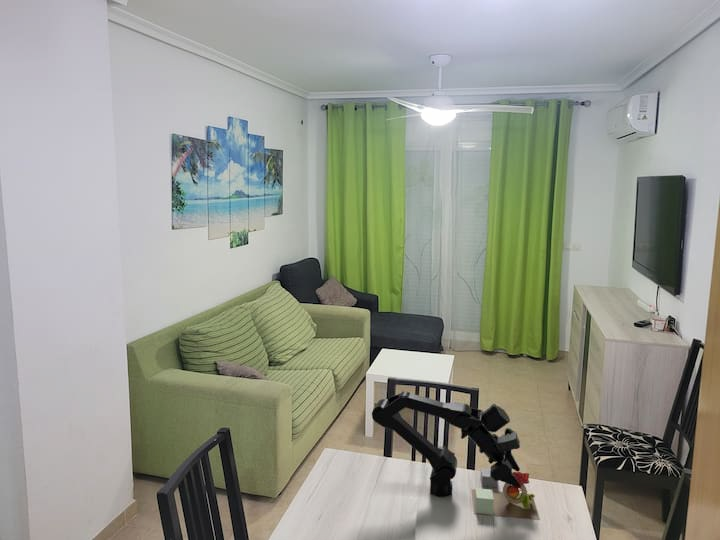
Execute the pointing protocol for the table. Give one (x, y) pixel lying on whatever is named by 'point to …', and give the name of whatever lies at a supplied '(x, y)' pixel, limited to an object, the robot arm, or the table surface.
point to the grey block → (487, 478)
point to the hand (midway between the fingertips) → (519, 478)
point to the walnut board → (510, 507)
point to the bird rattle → (513, 492)
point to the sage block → (484, 501)
